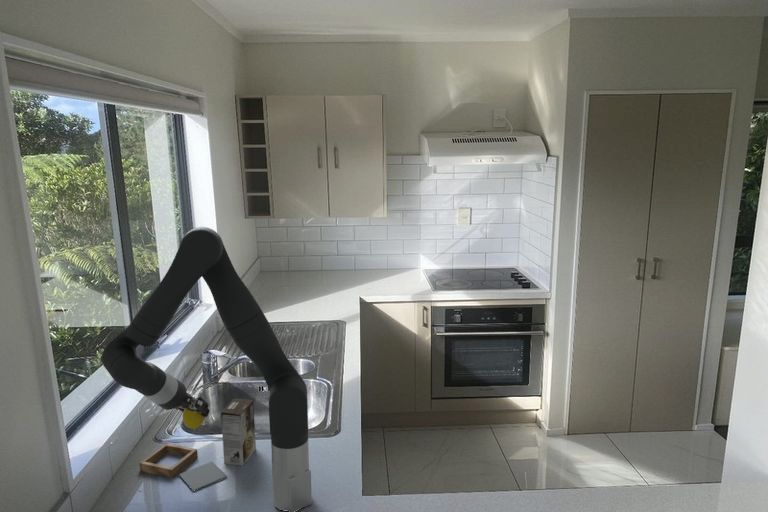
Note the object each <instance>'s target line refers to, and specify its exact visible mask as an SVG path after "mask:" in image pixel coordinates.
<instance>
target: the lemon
mask: <svg viewBox="0 0 768 512" xmlns="http://www.w3.org/2000/svg"><path fill="white" fill-rule="evenodd" d="M191 405H192V403H191ZM189 408H191V406H190V407H189ZM196 409H197V408H196ZM197 410H198V409H197ZM204 420H205V417H203V416H202V415H200V414H199V413H197V412H195V411H194V412H190V411H188V410H185V409H184V411H183V412H182V421H183V424H184V425H185V426H186V427H187V428H188V429H191V430H193V431H194V430H197V428H199V427H201V425H202V424H203V423H204Z"/></svg>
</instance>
